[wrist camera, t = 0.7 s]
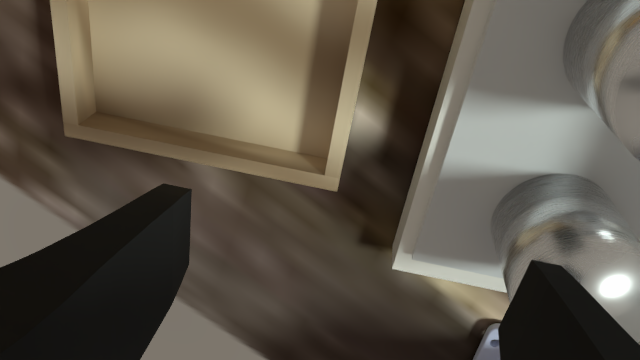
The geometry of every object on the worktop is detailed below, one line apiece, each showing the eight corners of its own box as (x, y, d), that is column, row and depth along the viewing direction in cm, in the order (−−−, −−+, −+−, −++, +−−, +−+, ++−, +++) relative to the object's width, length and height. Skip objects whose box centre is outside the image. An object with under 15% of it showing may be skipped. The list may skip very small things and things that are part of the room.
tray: (341, 167, 22) (336, 191, 20) (90, 116, 22) (64, 135, 20) (404, -134, 16) (405, -137, 14) (66, -197, 16) (26, -207, 15)
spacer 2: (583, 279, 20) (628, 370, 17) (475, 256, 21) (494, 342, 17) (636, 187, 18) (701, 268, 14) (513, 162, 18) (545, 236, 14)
